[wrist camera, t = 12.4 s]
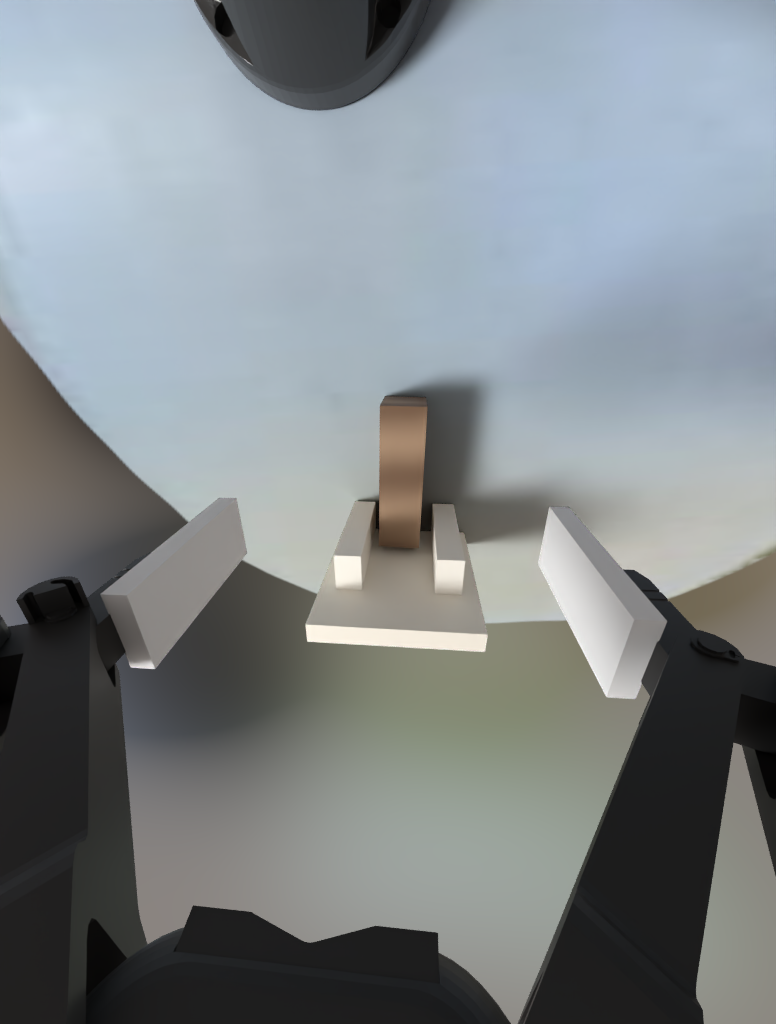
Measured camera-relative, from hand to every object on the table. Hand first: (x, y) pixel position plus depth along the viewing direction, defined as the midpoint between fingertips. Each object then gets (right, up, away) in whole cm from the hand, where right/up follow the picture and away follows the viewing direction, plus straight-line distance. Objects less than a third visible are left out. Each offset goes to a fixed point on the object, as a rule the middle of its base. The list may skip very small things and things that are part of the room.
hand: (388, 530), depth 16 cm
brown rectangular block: (+1, +5, +19) cm, 19 cm away
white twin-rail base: (+2, 0, +21) cm, 21 cm away
